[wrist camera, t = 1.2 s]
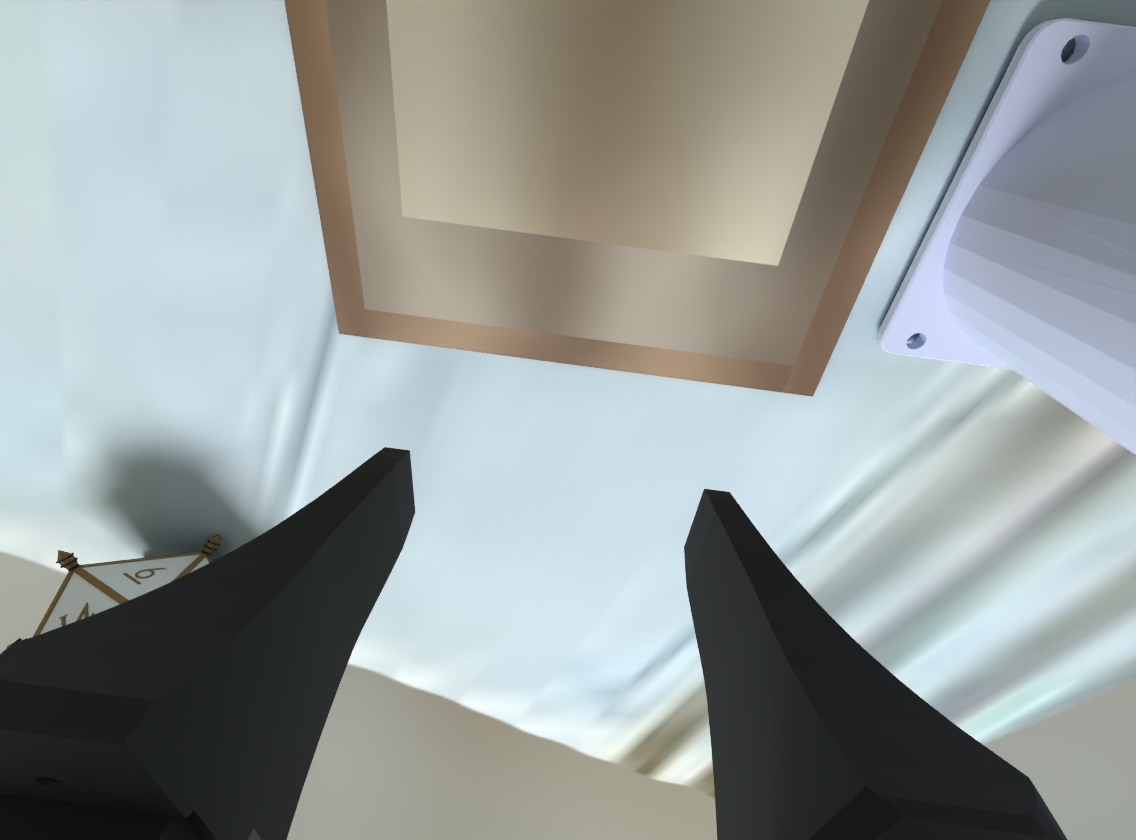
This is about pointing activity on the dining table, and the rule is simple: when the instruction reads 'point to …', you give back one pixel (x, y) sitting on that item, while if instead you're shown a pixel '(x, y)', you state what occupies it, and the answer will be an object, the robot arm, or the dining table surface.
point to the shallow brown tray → (607, 271)
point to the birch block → (617, 116)
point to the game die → (114, 583)
